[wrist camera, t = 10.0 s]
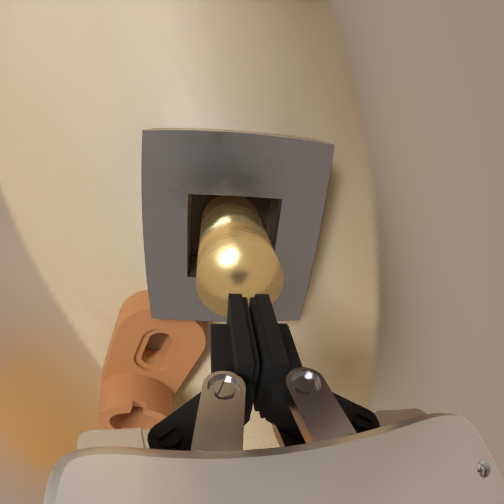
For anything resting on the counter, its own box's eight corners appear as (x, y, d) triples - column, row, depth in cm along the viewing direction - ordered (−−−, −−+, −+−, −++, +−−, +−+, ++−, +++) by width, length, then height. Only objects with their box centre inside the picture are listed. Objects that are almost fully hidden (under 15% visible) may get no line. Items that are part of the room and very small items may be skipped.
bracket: (159, 397, 33) (163, 443, 27) (99, 383, 29) (95, 430, 23) (216, 303, 27) (229, 360, 21) (132, 276, 23) (123, 334, 17)
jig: (154, 128, 18) (142, 130, 15) (316, 139, 20) (334, 144, 17) (157, 293, 24) (151, 318, 21) (289, 296, 26) (299, 320, 23)
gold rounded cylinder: (202, 192, 21) (195, 241, 13) (260, 195, 22) (289, 245, 14) (200, 245, 23) (195, 317, 15) (254, 247, 23) (276, 317, 15)
